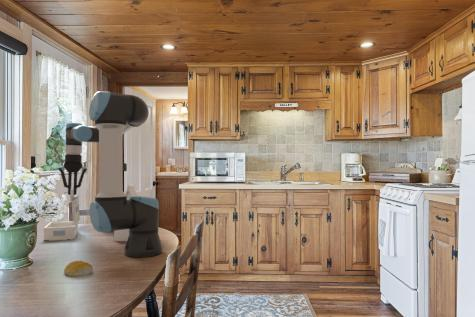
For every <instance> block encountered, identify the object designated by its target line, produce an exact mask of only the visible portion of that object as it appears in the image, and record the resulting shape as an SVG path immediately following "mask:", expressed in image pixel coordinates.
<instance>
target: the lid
mask: <svg viewBox="0 0 475 317" xmlns="http://www.w3.org/2000/svg"><path fill="white" fill-rule="evenodd" d="M79 202H80V201H79V194H76V195H74V197H73V198H72V202H71V210H72V221H73V225H76V224H77V223H78V224H79V222H80V219H81V215H80V204H79Z"/></svg>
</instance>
